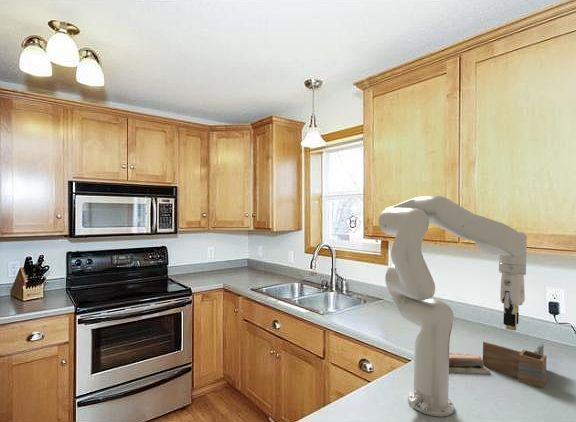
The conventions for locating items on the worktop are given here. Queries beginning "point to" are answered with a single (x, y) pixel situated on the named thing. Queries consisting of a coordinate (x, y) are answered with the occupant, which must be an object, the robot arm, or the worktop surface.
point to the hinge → (517, 363)
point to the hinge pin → (515, 318)
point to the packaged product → (466, 363)
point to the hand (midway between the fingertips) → (510, 323)
